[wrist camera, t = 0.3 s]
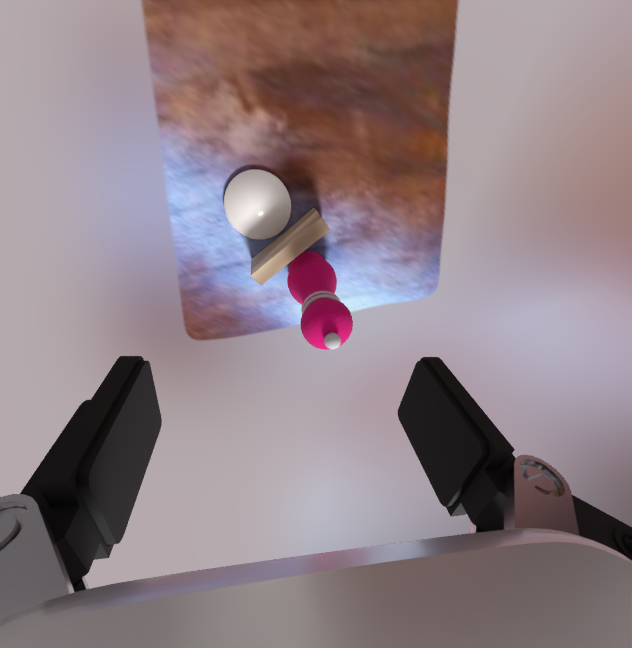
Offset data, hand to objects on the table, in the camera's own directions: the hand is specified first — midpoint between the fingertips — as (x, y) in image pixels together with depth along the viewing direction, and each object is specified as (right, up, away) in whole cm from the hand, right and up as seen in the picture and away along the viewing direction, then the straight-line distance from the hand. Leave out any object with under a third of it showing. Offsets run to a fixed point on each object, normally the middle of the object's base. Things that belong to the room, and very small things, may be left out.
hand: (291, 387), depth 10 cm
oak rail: (-4, +15, +33) cm, 36 cm away
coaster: (-7, +19, +30) cm, 36 cm away
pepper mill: (0, +11, +36) cm, 38 cm away
